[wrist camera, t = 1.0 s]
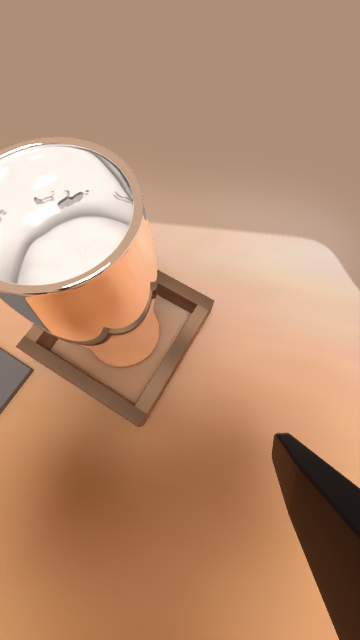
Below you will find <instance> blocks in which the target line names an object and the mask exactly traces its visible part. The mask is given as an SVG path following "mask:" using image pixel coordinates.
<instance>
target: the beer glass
mask: <svg viewBox="0 0 360 640" xmlns="http://www.w3.org/2000/svg"><path fill="white" fill-rule="evenodd" d="M157 284H158V276H157V261H156V254H155V249H154V243H153V238H152V234H151V230H150V226H149V222H148V219H147V215H146V212H145V208H144V204H143V196H142V191H141V187H140V185H139V182H138V180H137V178H136V176H135V174H134V173H133V171H132V170H131V168H130V167H129V166H128V165H127V164H126V163H125V162H124V161H123V160H122V159H121V158H120V157H119V156H117V155H116V154H115V153H113V152H112V151H110V150H108V149H107V148H105V147H102V146H100V145H98V144H95V143H93V142H89V141H86V140H82V139H76V138H68V137H67V138H66V137H49V138H39V139H34V140H29V141H25V142H21V143H18V144H15V145H12V146H10V147H7V148H5V149H3V150H1V151H0V300H1V301H2V302H4V303H5V304H6V305H7V306H9V307H10V308H11V309H12V310H14V311H15V312H16V313H17V314H19V315H20V316H21V317H23V318H24V319H26V320H27V321H29V322H30V323H31V324H33V325H34V326H36V327H37V328H39V329H41V330H43V331H45V332H46V333H48V334H50V335H52V336H54V337H56V338H58V339H60V340H63V341H66V342H69V343H72V344H75V345H79V346H83V347H88V348H91V350H92V351H93V353H94V354H95V355H96V356H97V357H98V358H99V359H100V360H101V361H103V362H104V363H106V364H109V365H112V366H117V367H126V366H131V365H135V364H137V363H139V362H141V361H143V360H144V359H145V358H147V357H148V356H149V355H150V354H151V352H152V351H153V350H154V348H155V346H156V344H157V342H158V339H159V323H158V320H157V317H156V315H155V313H154V312H153V308H154V304H155V299H156V292H157Z"/></svg>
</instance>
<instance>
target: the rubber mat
mask: <svg viewBox="0 0 360 640" xmlns="http://www.w3.org/2000/svg"><path fill="white" fill-rule="evenodd" d="M33 371H34V370H33V369H31V368H30V367H28V366H27V365H25V364H24V363H22V362H21V361H19V360H18V359H16V358H15V357H13V356H12V355H10V354H9V353H7V352H6V351H4V350H3V349H1V348H0V413H1V412H2V411H3V409H4V408H5V407H6V405H7V404H8V403H9V402H10V400H11V399H12V398H13V396H14V395H15V394H16V393H17V391H18V390H19V389H20V387H21V386H22V385H23V383H24V382H25V381H26V380H27V378H28V377H29V376H30V374H31V373H32V372H33Z"/></svg>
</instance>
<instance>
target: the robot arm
mask: <svg viewBox="0 0 360 640" xmlns="http://www.w3.org/2000/svg"><path fill="white" fill-rule="evenodd" d="M272 460H273V464H274V467H275V471H276V474H277V477H278V481H279V484H280V487H281V491H282V494H283V497H284V501H285V504H286V507H287V510H288V514H289V516H290V519H291V522H292V524H293V527H294V529H295V532H296V534H297V536H298V539H299V541H300V544H301V546H302V549H303V551H304V554H305V556H306V559H307V561H308V564H309V566H310V569H311V571H312V574H313V576H314V579H315V581H316V583H317V586H318V588H319V591H320V593H321V596H322V598H323V601H324V603H325V606H326V608H327V611H328V613H329V616H330V618H331V621H332V623H333V625H334V628H335V630H336V633H337V635H338V638H339V640H360V488H359V487H357V486H356V485H355V484H353V483H352V482H351V481H350V480H348V479H347V478H346V477H344V476H343V475H342V474H341V473H339V472H338V471H337V470H335V469H334V468H333V467H332V466H330V465H329V464H328V463H326V462H325V461H324V460H323V459H321V458H320V457H319V456H317V455H316V454H315V453H314V452H312V451H311V450H310V449H308V448H307V447H306V446H305V445H303V444H302V443H301V442H299V441H298V440H297V439H296V438H294V437H293V436H292V435H290V434H289V433H276V434H275V435H274V440H273V448H272Z"/></svg>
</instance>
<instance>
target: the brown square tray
mask: <svg viewBox="0 0 360 640" xmlns="http://www.w3.org/2000/svg"><path fill="white" fill-rule="evenodd" d="M157 276H158V284H157V292H156V294H158V295H160V296H162V297H163V298H165V299H167V300H169V301H170V302H172V303H174V304H176V305H178V306H179V307H181V308H183V309H185V310H187V311H188V312H190V313H192V314H191V316H190V318H189V319H188V321H187V322H186V324H185V326H184V327H183V329H182V330H181V332H180V334H179V335H178V337H177V339H176V340H175V342H174V343H173V345H172V347H171V348H170V350H169V352H168V353H167V355H166V356H165V358H164V360H163V361H162V363H161V364H160V366H159V368H158V369H157V371H156V373H155V374H154V376H153V377H152V379H151V381H150V382H149V384H148V386H147V387H146V389H145V390H144V392H143V394H142V395H141V397H140V398H139V400H138V402H137V403H136V405H135V404H134V403H132V402H131V401H129V400H128V399H126V398H124V397H123V396H121V395H120V394H118V393H117V392H115V391H114V390H112V389H110V388H109V387H107V386H106V385H104V384H103V383H101V382H99V381H98V380H96V379H95V378H93V377H92V376H90V375H89V374H87V373H85V372H84V371H82V370H81V369H79V368H78V367H76V366H74V365H73V364H71V363H70V362H68V361H67V360H65V359H64V358H62V357H60V356H59V355H57V354H56V353H54V352H53V351H51V350H50V348H51V347H52V346H53V345H54V343H55V342H56V341H57V339H58V338H56V337H54V336H52V335H50V334H48V333H46V332H45V331H43V330H41V329H39V328H37V327H36V326H34V325H33V326H32V327H31V329H30V330H29V331H28V332H27V334H26V335H25V336H24V337H23V338H22V340H21V341H20V342H19V343H18V345H17V346H16V347H17V348H18V349H20V350H21V351H23V352H25V353H26V354H28V355H29V356H31V357H32V358H34V359H35V360H37V361H38V362H40V363H41V364H43V365H44V366H46V367H47V368H49V369H51V370H52V371H54V372H55V373H57V374H58V375H60V376H61V377H63V378H64V379H66V380H67V381H69V382H70V383H72V384H74V385H75V386H77V387H78V388H80V389H81V390H83V391H84V392H86V393H87V394H89V395H90V396H92V397H93V398H95V399H96V400H98V401H100V402H101V403H103V404H104V405H106V406H107V407H109V408H110V409H112V410H113V411H115V412H116V413H118V414H119V415H121V416H122V417H124V418H126V419H127V420H129V421H130V422H132V423H133V424H135V425H136V426H138V427H140V426H143V424H144V423H145V421H146V419H147V418H148V416H149V414H150V413H151V411H152V409H153V408H154V406H155V404H156V403H157V401H158V399H159V397H160V396H161V394H162V392H163V391H164V389H165V387H166V386H167V384H168V382H169V381H170V379H171V377H172V376H173V374H174V372H175V371H176V369H177V367H178V365H179V364H180V362H181V360H182V359H183V357H184V355H185V354H186V352H187V350H188V349H189V347H190V345H191V344H192V342H193V340H194V339H195V337H196V335H197V334H198V332H199V330H200V328H201V327H202V325H203V323H204V322H205V320H206V318H207V317H208V315H209V313H210V312H211V309H212V306H213V303H214V300H212V299H210V298H209V297H207V296H205V295H203V294H201V293H199V292H197V291H196V290H194V289H192V288H190V287H188V286H186V285H185V284H183V283H181V282H179V281H177V280H175V279H173V278H172V277H170V276H168V275H166V274H164V273H162V272H160V271H159V270H157Z"/></svg>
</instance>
